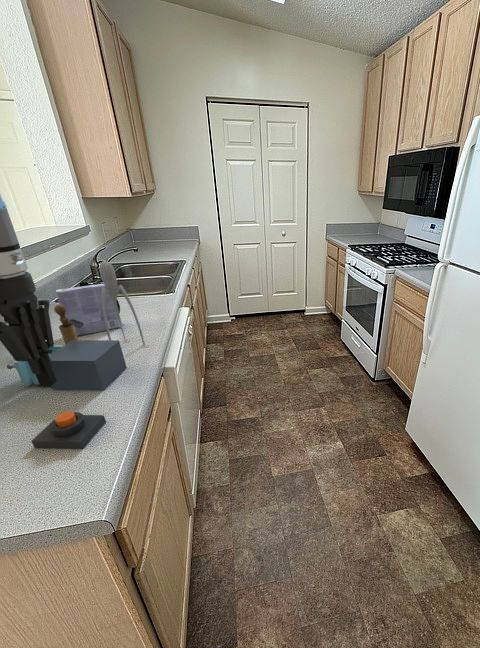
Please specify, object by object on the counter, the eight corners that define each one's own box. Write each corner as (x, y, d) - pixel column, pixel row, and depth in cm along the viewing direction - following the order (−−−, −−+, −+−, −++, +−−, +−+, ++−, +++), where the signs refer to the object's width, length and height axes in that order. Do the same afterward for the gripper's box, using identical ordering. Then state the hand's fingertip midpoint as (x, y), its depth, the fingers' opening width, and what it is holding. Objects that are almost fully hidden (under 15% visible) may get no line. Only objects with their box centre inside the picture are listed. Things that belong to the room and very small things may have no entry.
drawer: (7, 386, 94) (-5, 362, 90) (37, 365, 104) (27, 343, 100) (70, 386, 93) (61, 362, 90) (94, 366, 103) (86, 343, 100)
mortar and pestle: (91, 350, 115) (74, 301, 107) (83, 359, 109) (65, 307, 101) (70, 352, 114) (52, 302, 106) (61, 361, 108) (41, 309, 100)
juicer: (139, 351, 114) (117, 263, 100) (112, 352, 113) (86, 264, 100) (149, 338, 123) (130, 256, 110) (124, 339, 122) (101, 257, 109)
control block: (34, 448, 73) (27, 434, 71) (62, 421, 81) (56, 408, 79) (83, 449, 72) (77, 435, 71) (106, 422, 80) (101, 409, 79)
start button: (54, 427, 73) (51, 421, 73) (64, 417, 77) (62, 411, 76) (69, 427, 73) (67, 421, 73) (80, 417, 77) (77, 411, 76)
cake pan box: (124, 322, 137) (112, 280, 129) (126, 326, 133) (114, 283, 125) (69, 333, 128) (54, 289, 120) (70, 338, 124) (53, 292, 116)
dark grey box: (53, 390, 93) (41, 360, 89) (81, 367, 104) (72, 340, 100) (104, 390, 93) (94, 360, 88) (127, 367, 104) (119, 340, 100)
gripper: (-7, 285, 54) (43, 402, 65) (49, 265, 66) (84, 367, 76) (-52, 284, 54) (6, 401, 65) (13, 265, 66) (52, 367, 77)
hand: (48, 383), depth 71 cm, fingers closed
